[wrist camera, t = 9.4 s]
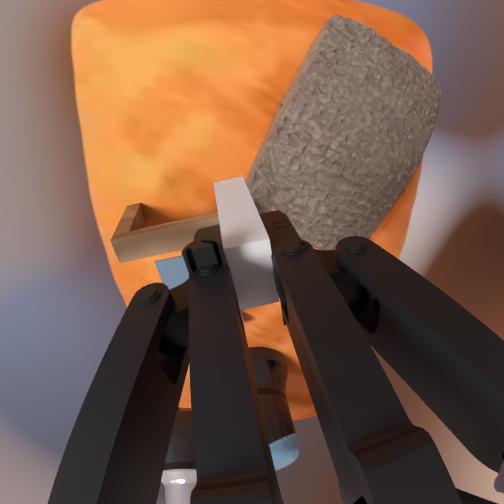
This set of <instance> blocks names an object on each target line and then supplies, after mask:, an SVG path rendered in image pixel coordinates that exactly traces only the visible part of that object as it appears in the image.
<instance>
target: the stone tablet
mask: <svg viewBox="0 0 504 504" xmlns="http://www.w3.org/2000/svg"><path fill="white" fill-rule="evenodd" d="M441 95H442V93H441V89H440V86H439V84H438V82H437V81H436V80H435V78H434V77H433V76H432V74H431V73H430V72H429V71H428V70H427V69H426V68H425V67H423V66H422V65H421V64H420V63H419V62H418V61H417V60H416V59H415V58H414V57H413V56H411V55H410V54H408V53H407V52H405V51H403V50H401V49H399V48H397V47H395V46H393V45H392V44H391V43H390V42H389V41H388V40H387V39H385V38H383V37H381V36H380V35H378V34H377V33H376V31H375V30H374V29H373V28H371V27H369V26H366V25H364V24H362V23H360V22H358V21H355V20H353V19H351V18H343V17H341V16H339V15H336V16H331V17H330V18H329V19H328V21H327V22H326V24H325V25H324V27H323V28H322V30H321V31H320V33H319V34H318V36H317V37H316V39H315V40H314V42H313V43H312V45H311V47H310V49H309V51H308V53H307V55H306V57H305V59H304V61H303V63H302V65H301V67H300V69H299V72H298V74H297V75H296V77H295V78H294V79H293V81H292V83H291V86H290V88H289V90H288V92H287V94H286V95H285V96H284V98H283V99H282V101H281V103H280V105H279V107H278V109H277V112H276V114H275V117H274V119H273V121H272V124H271V126H270V128H269V131H268V133H267V135H266V138H265V139H264V141H263V143H262V145H261V147H260V149H259V152H258V154H257V156H256V158H255V161H254V163H253V166H252V168H251V170H250V172H249V175H248V177H247V179H246V181H245V183H246V185H247V188H248V190H249V192H250V195H251V197H252V199H253V201H254V204H255V206H256V208H257V211H258V213H259V214H262V213H266V212H271V211H276V210H279V211H281V212H283V213H285V214H286V215H287V216H288V218H289V220H290V221H291V223H292V225H293V226H294V228H295V230H296V231H297V233H298V235H299V236H300V238H301V239H302V240H305V241H308V242H309V243H310V244H311V245H312V246H313V247H315V248H318V249H321V250H336V244H337V243H338V241H340V240H341V239H343V238H346V237H350V236H360V237H365V238H369V237H370V236H371V234H372V233H373V232H374V231H375V229H376V228H377V227H378V225H379V224H380V222H381V221H382V219H383V218H384V217H385V215H386V214H387V213H388V212H389V211H390V210H391V208H392V207H393V205H394V202H395V201H396V200H398V199H399V197H400V195H401V194H402V193H403V192H404V190H405V187H406V185H407V183H408V182H409V181H410V179H411V178H412V176H413V175H414V173H415V171H416V169H417V167H418V165H419V163H420V161H421V159H422V156H423V152H424V151H425V149H426V146H427V144H428V142H429V140H430V137H431V134H432V131H433V129H434V127H435V126H434V124H433V123H434V122H435V120H436V117H437V114H438V110H439V105H440V97H441Z"/></svg>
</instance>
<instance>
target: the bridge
mask: <svg viewBox="0 0 504 504" xmlns="http://www.w3.org/2000/svg"><path fill="white" fill-rule="evenodd" d="M146 223H147V222H146V219H145V216H144V213H143V210H142V207H141V203H138V204H134V205H130V206H127V207H126V209H125V211H124V213H123V215H122V217H121V219H120V222H119V224H118V226H117V228H116V230H115V232H114V234H113V237H112V239H111V243H112V246H113V248H114V250H115V253H116V255H117V258H118V260H119V262H120V263H122V262H127V261H131V260H136V259H141V258H145V257H150V256H155V255H159V254H164V253H169V252H174V251H178V250H183V249H184V248H185V247H186V246H187V245H188V244H189V243H191V242H193V241H194V235H195V233H196V232H197V230H198V229H201V228H205V227H209V226H213V225H217V224H219V217H218V212H215V213H211V214H206V215H201V216H196V217H192V218H187V219H182V220H178V221H173V222H169V223H164V224H160V225H155V226H151V227H147V228H145V226H146Z"/></svg>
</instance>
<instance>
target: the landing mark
mask: <svg viewBox="0 0 504 504" xmlns="http://www.w3.org/2000/svg"><path fill="white" fill-rule="evenodd" d="M155 264H156V266H157V269H158V271H159V274H160V277H161V279H162V282H163V284H165V285H167V286H168V288H169V290H170V289H172V288H174V287H176V286H178V285H180V284H182V283H184V282H185V281H186V280H188V278H189V273H188V270H187V267H186V264H185V261H184V258H183V256H179V257H174V258H169V259H164V260H159V261H155Z"/></svg>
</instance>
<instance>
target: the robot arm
mask: <svg viewBox="0 0 504 504" xmlns="http://www.w3.org/2000/svg"><path fill="white" fill-rule="evenodd" d="M214 188H215V196H216V203H217V210H218V217H219V224H217V225H213V226H209V227H205V228H201V229H198V230H197V232H196V233H195V235H194V241H193V242H191V243H189V244H188V245H187V246H186V247H185V248H184V249H183V251H182V255H183V258H184V261H185V264H186V267H187V270H188V273H189V278H188V280H186V281H185V282H184V283H182V284H180V285H178V286H176V287H174V288H172V289H170V290H169V288H168V286H167V285H165V284H163V283H152V284H149V285H146V286H144V287H142V288H141V289H140V290H138V291H137V292H136V293H135V295H134V296H133V298H132V300H131V302H130V304H129V306H128V307H127V309H126V311H125V313H124V315H123V317H122V319H121V321H120V324H119V326H118V327H117V329H116V332H115V334H114V336H113V338H112V340H111V342H110V344H109V346H108V348H107V351H106V353H105V355H104V357H103V359H102V361H101V363H100V366H99V368H98V370H97V372H96V375H95V377H94V379H93V381H92V384H91V386H90V388H89V391H88V393H87V395H86V398H85V400H84V403H83V405H82V407H81V410H80V412H79V415H78V417H77V420H76V422H75V425H74V428H73V430H72V433H71V436H70V438H69V441H68V443H67V446H66V449H65V452H64V455H63V458H62V460H61V463H60V466H59V469H58V472H57V475H56V478H55V481H54V485H53V488H52V491H51V494H50V498H49V501H48V504H156V502H157V497H158V493H159V488H160V483H161V482H162V483H163V484H164V486H165V496H166V504H284V503H283V499H282V496H281V493H280V489H279V485H278V481H277V476H276V472H275V471H276V470H278V469H281V468H283V467H285V466H287V465H289V464H290V463H292V462H293V461H294V460H296V458H297V457H298V455H299V446H298V440H297V437H298V436H297V434H296V431H295V428H294V424H293V421H292V417H291V413H290V410H289V406H288V403H287V399H286V395H285V388H286V378H287V367H286V363H285V360H284V358H283V356H282V355H281V354H280V353H278V352H276V351H274V350H271V349H267V348H248V344H247V339H246V334H245V329H244V325H243V320H242V316H241V312H240V310H244V309H249V308H253V307H257V306H261V305H266V304H270V303H274V302H278V301H279V298H280V301H281V308H282V315H283V322H284V325H286V324H287V327H288V330H289V333H290V336H291V339H292V342H293V345H294V348H295V351H296V354H297V356H298V359H299V362H300V365H301V368H302V371H303V374H304V377H305V380H306V383H307V386H308V389H309V392H310V395H311V398H312V401H313V404H314V407H315V410H316V413H317V416H318V419H319V422H320V425H321V428H322V431H323V434H324V437H325V440H326V443H327V446H328V449H329V452H330V455H331V458H332V461H333V464H334V468H335V471H336V474H337V477H338V481H339V488H340V493H341V497H342V501H343V504H497V503H495V502H492V501H489V500H486V499H483V498H480V497H478V496H475V495H472V494H470V493H467V492H465V491H462V490H459V489H457V488H455V486H454V483H453V481H452V479H451V477H450V475H449V472H448V470H447V468H446V466H445V464H444V462H443V460H442V457H441V455H440V453H439V451H438V449H437V447H436V445H435V443H434V441H433V439H432V438H431V436H430V435H429V433H428V432H426V431H425V430H424V429H423V428H420V427H416V426H414V425H413V424H412V423H411V421H410V420H409V418H408V416H407V414H406V412H405V410H404V408H403V406H402V404H401V403H400V401H399V398H398V397H397V394H396V392H395V391H394V389H393V387H392V385H391V383H390V381H389V379H388V377H387V375H386V373H385V372H384V370H383V368H382V366H381V364H380V362H379V360H378V358H377V357H376V355H375V353H374V351H373V349H372V347H373V348H374V349H375V350H376V351H377V352H378V353H379V355H380V356H381V357H382V358H383V359H384V360H385V361H386V362H387V363H388V364H389V365H390V366H391V367H392V368H393V369H394V370H395V371H396V372H397V374H398V375H399V376H400V377H401V378H402V379H403V380H404V381H405V382H406V383H407V384H408V385H409V386H410V387H411V388H412V389H413V391H414V392H415V393H416V394H417V395H418V396H419V397H420V398H421V399H422V400H423V401H424V402H425V404H426V405H427V406H428V407H429V408H430V409H431V410H432V411H433V412H434V413H435V414H436V415H437V416H438V418H439V419H440V420H441V421H442V422H443V423H444V424H445V425H446V426H447V427H448V429H449V430H450V431H451V432H452V433H453V434H454V435H455V436H456V437H457V439H458V440H459V441H460V442H461V443H462V444H463V445H464V446H465V447H466V449H467V450H468V451H469V452H470V453H471V454H473V455H474V456H475V458H477V459H478V460H479V461H480V462H481V463H483V464H484V465H486V466H487V467H488V468H490V469H492V470H493V471H495V472H497V473H499V475H498V476H497V478H496V479H495V482H494V488H495V490H496V491H497V492H503V493H504V340H502V339H501V338H500V337H499V336H498V335H496V334H495V333H494V332H493V331H492V330H491V329H489V328H488V327H487V326H486V325H484V324H483V323H482V322H481V321H480V320H478V319H477V318H476V317H475V316H473V315H472V314H471V313H470V312H468V311H467V310H466V309H465V308H463V307H462V306H461V305H460V304H458V303H457V302H456V301H454V300H453V299H452V298H451V297H449V296H448V295H447V294H445V293H444V292H443V291H441V290H440V289H439V288H437V287H436V286H435V285H433V284H432V283H430V282H429V281H428V280H426V279H425V278H424V277H422V276H421V275H420V274H418V273H417V272H415V271H414V270H413V269H411V268H410V267H409V266H407V265H406V264H404V263H403V262H401V261H400V260H399V259H397V258H396V257H394V256H393V255H391V254H390V253H389V252H387V251H386V250H384V249H383V248H381V247H380V246H378V245H377V244H375V243H374V242H372V241H371V240H369V239H367V238H365V237H360V236H350V237H346V238H343V239H341V240H340V241H338V243H337V244H336V250H316V249H314V248H313V247H312V245H311V244H310V243H309V242H308V241H305V240H302V239H301V238H300V236H299V235H298V233H297V231H296V230H295V228H294V226H293V225H292V223H291V221H290V220H289V218H288V216H287V215H286V214H285V213H283V212H281V211H279V210H276V211H271V212H266V213H262V214H259V213H258V211H257V208H256V206H255V204H254V201H253V199H252V197H251V195H250V192H249V190H248V188H247V185H246V183H245V181H244V179H243V176H242V177H237V178H232V179H228V180H224V181H219V182H215V183H214ZM278 295H279V296H278ZM370 345H371V346H372V347H371V346H370ZM189 362H190V389H191V408H180V407H178V405H179V401H180V397H181V393H182V389H183V385H184V381H185V377H186V373H187V369H188V366H189Z"/></svg>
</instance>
